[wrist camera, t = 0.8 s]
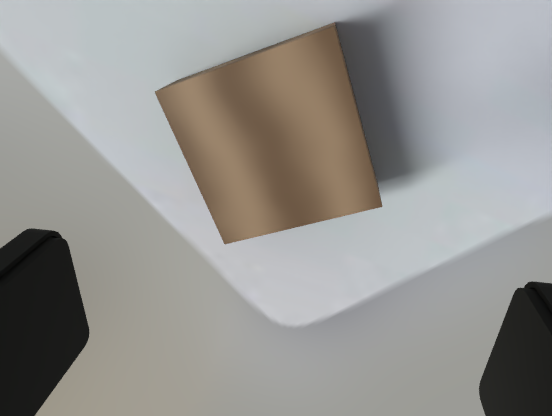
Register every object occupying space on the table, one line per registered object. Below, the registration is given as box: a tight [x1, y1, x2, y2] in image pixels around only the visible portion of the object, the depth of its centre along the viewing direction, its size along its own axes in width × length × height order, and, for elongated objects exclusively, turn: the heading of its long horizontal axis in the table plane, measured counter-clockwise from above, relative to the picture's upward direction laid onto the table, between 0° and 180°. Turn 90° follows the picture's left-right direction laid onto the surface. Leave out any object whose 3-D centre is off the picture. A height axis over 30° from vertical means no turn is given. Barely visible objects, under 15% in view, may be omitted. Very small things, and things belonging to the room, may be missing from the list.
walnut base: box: [155, 22, 382, 244], centre depth 29 cm, size 12×12×4 cm
